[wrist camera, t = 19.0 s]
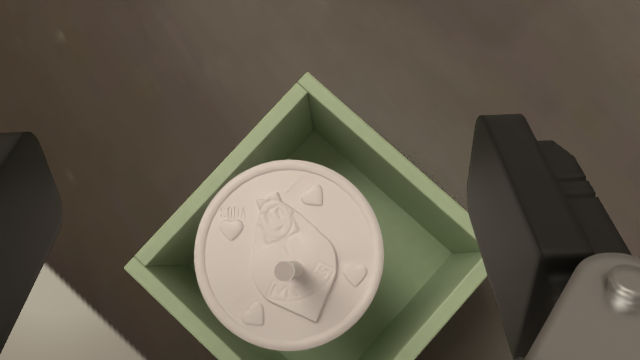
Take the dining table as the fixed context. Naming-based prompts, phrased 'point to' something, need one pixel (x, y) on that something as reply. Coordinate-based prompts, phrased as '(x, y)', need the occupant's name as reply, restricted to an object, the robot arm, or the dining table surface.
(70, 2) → the dining table surface
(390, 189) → the bin
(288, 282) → the smoothie
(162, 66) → the dining table surface
